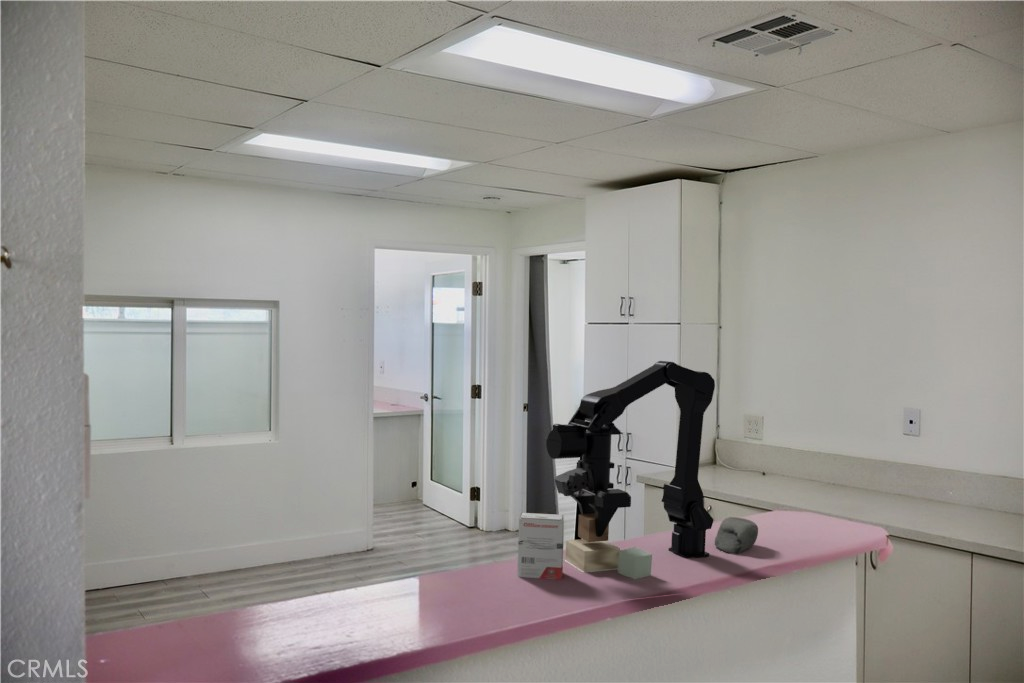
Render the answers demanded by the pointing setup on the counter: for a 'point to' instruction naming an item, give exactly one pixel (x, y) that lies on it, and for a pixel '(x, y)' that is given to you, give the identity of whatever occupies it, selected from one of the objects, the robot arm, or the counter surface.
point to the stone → (736, 535)
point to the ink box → (540, 546)
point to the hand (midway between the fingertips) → (593, 533)
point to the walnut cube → (590, 528)
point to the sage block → (634, 563)
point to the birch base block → (592, 555)
